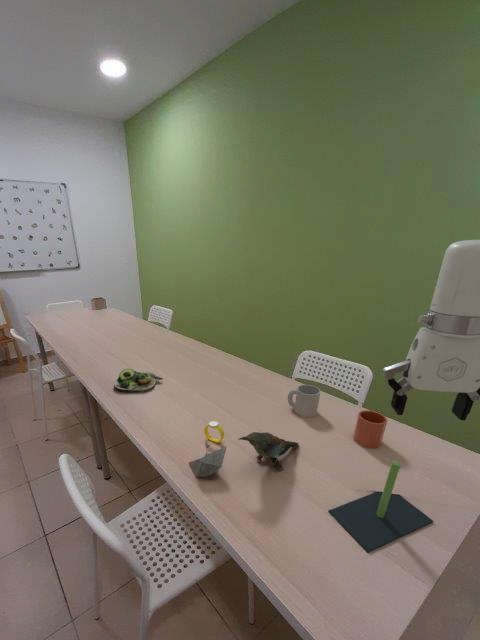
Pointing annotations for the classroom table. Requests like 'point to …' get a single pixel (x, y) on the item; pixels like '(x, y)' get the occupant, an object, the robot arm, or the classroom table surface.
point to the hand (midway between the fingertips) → (426, 413)
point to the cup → (305, 400)
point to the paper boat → (208, 463)
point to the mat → (379, 520)
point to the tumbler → (369, 429)
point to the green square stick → (388, 489)
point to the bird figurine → (269, 446)
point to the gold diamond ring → (214, 425)
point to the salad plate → (135, 381)
